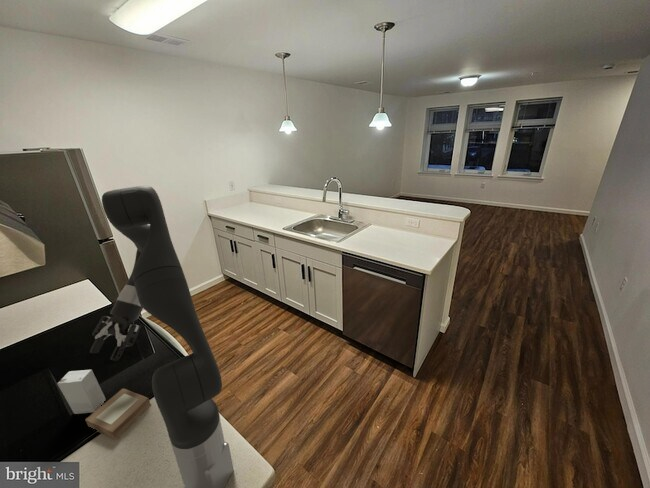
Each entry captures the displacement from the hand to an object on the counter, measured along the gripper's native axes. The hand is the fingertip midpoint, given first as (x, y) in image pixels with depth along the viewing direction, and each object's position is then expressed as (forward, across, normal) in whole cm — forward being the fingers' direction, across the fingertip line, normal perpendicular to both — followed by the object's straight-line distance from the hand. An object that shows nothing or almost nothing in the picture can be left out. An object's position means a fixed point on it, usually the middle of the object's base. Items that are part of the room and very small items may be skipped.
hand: (103, 356), depth 78 cm
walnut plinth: (+13, +11, +4) cm, 17 cm away
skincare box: (+14, 0, +4) cm, 14 cm away
